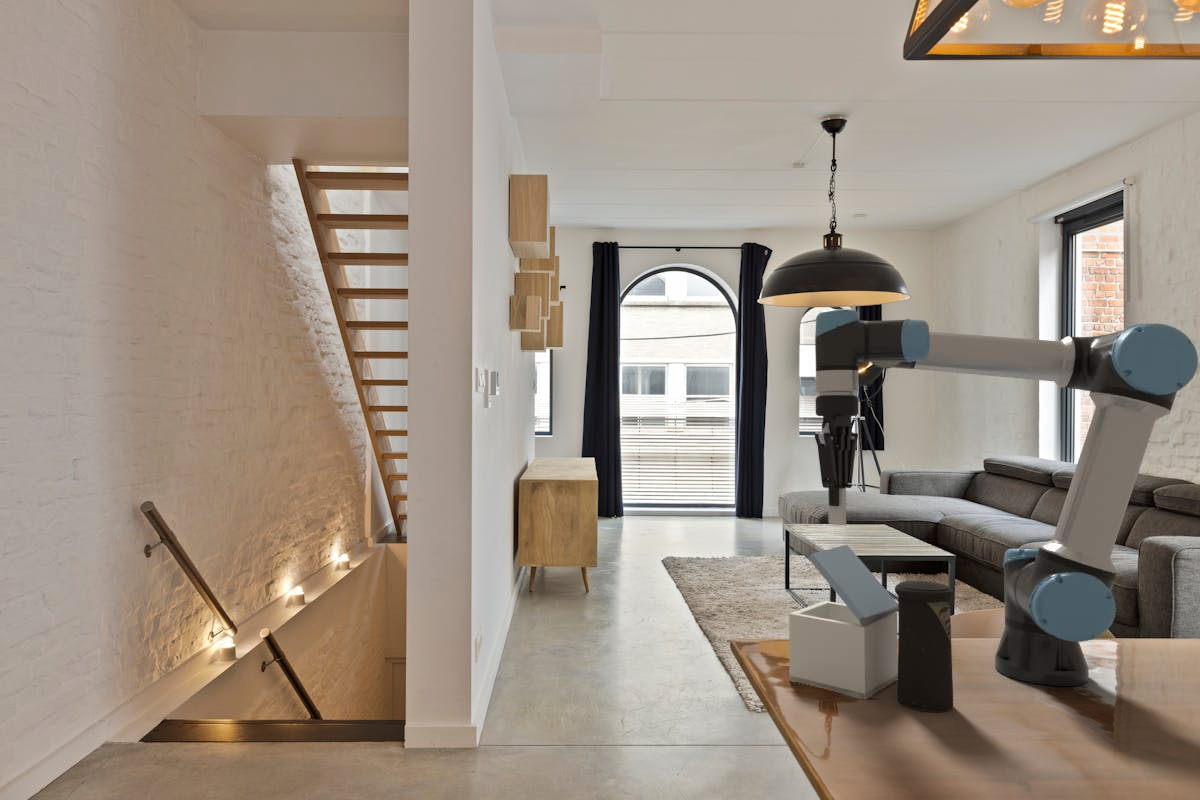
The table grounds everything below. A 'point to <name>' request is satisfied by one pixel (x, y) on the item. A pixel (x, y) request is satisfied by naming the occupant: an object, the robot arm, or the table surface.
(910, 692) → the container
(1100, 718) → the table surface
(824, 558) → the lid
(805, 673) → the box
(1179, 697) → the table surface
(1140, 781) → the table surface
